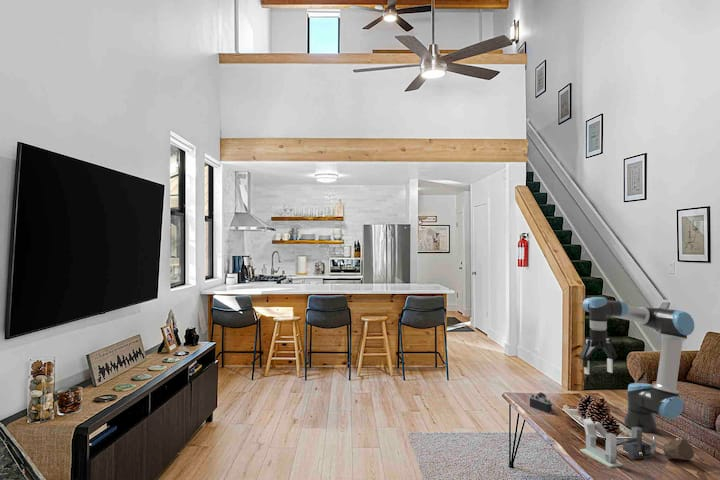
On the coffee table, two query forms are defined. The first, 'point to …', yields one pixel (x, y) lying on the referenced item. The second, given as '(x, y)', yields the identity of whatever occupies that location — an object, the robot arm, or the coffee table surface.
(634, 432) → the vise
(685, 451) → the rock
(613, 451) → the white slotted block
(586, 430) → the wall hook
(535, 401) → the camera
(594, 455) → the pad
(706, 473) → the coffee table surface
